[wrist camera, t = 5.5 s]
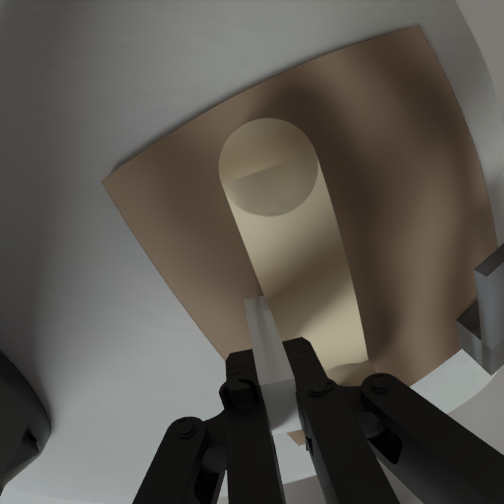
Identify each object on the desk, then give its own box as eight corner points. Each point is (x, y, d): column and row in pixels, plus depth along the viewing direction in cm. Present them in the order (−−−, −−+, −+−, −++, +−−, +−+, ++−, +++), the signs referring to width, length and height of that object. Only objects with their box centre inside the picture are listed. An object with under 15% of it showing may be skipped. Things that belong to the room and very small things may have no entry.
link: (368, 381, 19) (395, 425, 15) (301, 408, 19) (316, 458, 15) (296, 112, 14) (325, 93, 9) (197, 145, 14) (185, 138, 10)
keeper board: (296, 437, 22) (310, 488, 16) (107, 180, 15) (59, 190, 10) (496, 307, 20) (535, 335, 15) (410, 30, 14) (460, 3, 8)
